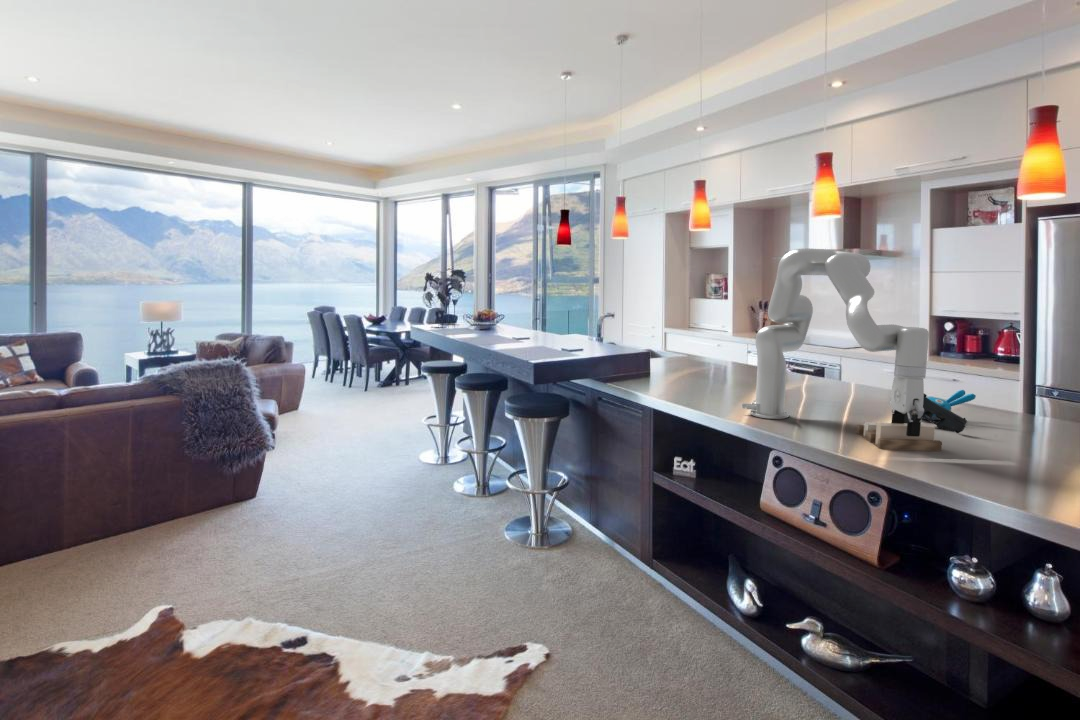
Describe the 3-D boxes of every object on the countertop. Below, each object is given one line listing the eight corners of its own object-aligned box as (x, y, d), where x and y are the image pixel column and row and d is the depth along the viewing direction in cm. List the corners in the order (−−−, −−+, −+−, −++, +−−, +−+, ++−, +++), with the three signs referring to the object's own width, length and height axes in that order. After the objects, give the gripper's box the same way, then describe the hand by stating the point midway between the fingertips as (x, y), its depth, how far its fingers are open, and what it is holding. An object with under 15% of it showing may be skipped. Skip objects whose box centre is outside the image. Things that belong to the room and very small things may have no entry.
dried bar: (867, 437, 182) (868, 424, 181) (863, 435, 185) (864, 422, 184) (917, 439, 180) (919, 426, 179) (913, 436, 183) (914, 423, 182)
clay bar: (879, 446, 173) (881, 425, 172) (875, 443, 176) (876, 422, 175) (932, 448, 171) (934, 427, 170) (927, 445, 174) (929, 424, 173)
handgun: (896, 418, 203) (916, 388, 198) (948, 449, 193) (971, 418, 187) (894, 419, 202) (914, 389, 196) (946, 451, 191) (969, 420, 186)
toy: (982, 428, 197) (985, 397, 196) (918, 425, 201) (920, 395, 199) (954, 414, 216) (956, 386, 215) (896, 412, 220) (898, 384, 219)
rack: (879, 452, 171) (880, 439, 170) (856, 436, 187) (857, 425, 187) (941, 454, 168) (942, 441, 168) (912, 438, 185) (913, 426, 185)
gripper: (882, 366, 179) (878, 423, 182) (909, 376, 162) (904, 439, 165) (910, 367, 178) (905, 424, 181) (940, 377, 161) (934, 440, 164)
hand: (904, 431), depth 173 cm, fingers open, 9 cm apart
